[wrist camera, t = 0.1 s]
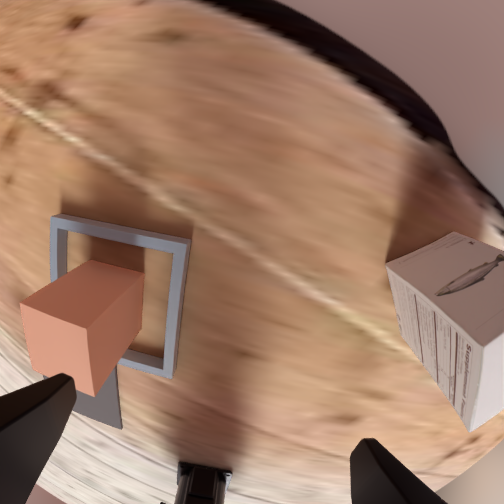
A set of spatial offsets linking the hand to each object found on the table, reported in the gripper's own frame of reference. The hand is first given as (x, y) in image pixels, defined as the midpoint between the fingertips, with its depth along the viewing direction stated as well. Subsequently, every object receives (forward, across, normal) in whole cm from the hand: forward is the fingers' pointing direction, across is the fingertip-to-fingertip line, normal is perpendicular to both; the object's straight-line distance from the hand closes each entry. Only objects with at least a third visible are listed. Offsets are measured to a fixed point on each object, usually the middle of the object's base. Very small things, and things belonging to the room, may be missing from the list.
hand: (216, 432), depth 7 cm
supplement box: (+15, -15, -2) cm, 21 cm away
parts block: (+15, +10, +4) cm, 18 cm away
